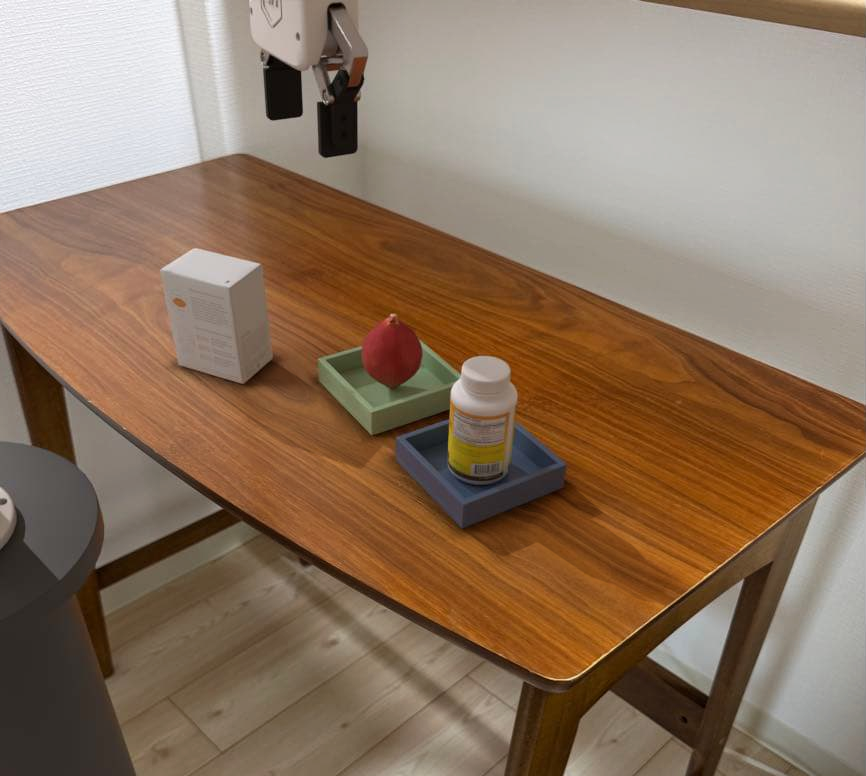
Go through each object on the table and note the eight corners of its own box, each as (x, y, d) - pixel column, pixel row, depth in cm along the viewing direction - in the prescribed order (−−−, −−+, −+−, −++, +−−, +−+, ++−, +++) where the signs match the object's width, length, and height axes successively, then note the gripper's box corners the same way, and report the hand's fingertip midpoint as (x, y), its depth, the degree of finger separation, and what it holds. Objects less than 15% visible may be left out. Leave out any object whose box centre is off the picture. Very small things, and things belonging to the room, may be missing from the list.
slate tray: (461, 529, 74) (463, 504, 73) (395, 460, 81) (395, 437, 79) (563, 487, 79) (567, 464, 77) (492, 426, 85) (494, 402, 84)
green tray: (371, 436, 83) (371, 412, 82) (318, 381, 90) (317, 358, 88) (467, 403, 88) (468, 381, 86) (410, 353, 94) (410, 331, 93)
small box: (274, 360, 93) (264, 263, 86) (243, 386, 89) (230, 287, 82) (209, 341, 95) (194, 245, 88) (176, 366, 91) (158, 268, 84)
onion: (350, 383, 89) (347, 309, 83) (396, 365, 92) (396, 292, 86) (386, 410, 86) (386, 335, 80) (433, 390, 88) (435, 316, 83)
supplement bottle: (473, 441, 82) (481, 342, 75) (522, 467, 80) (535, 367, 73) (433, 469, 79) (437, 368, 72) (482, 497, 76) (492, 395, 70)
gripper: (202, -136, 66) (226, 110, 78) (307, -102, 56) (317, 178, 67) (295, -137, 70) (305, 100, 81) (410, -104, 59) (403, 163, 70)
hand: (310, 135), depth 74 cm, fingers open, 9 cm apart
